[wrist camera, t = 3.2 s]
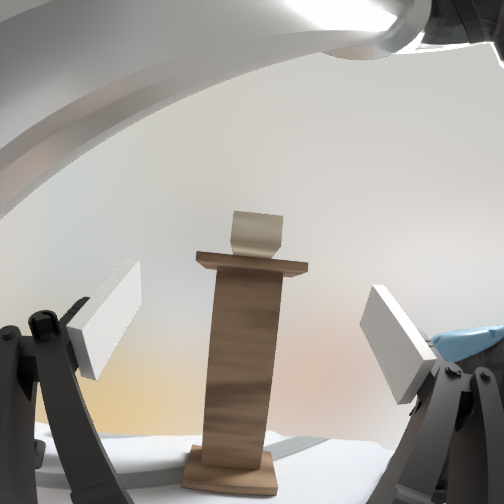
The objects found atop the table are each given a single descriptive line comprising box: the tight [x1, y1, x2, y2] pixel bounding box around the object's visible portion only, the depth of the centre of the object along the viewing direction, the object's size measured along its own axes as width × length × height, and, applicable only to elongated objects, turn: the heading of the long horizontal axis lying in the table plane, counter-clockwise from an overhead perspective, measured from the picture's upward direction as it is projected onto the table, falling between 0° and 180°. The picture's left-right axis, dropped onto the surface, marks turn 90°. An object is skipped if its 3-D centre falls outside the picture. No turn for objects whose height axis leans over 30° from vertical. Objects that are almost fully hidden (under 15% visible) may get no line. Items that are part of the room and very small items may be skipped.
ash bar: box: [230, 211, 283, 259], centre depth 33 cm, size 20×4×2 cm, turn 2°
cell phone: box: [34, 439, 46, 469], centre depth 20 cm, size 7×14×1 cm, turn 119°
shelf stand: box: [181, 251, 308, 495], centre depth 34 cm, size 10×12×30 cm
